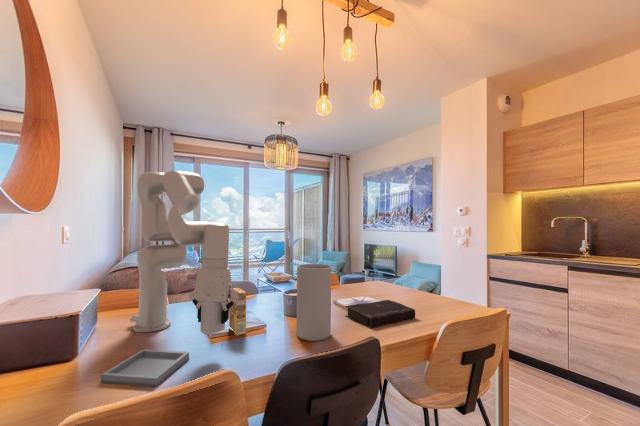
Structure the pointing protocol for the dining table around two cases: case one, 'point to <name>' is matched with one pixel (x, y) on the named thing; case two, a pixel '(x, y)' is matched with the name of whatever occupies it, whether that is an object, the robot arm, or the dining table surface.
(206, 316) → the skincare box
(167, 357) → the tray
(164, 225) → the robot arm
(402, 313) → the diary
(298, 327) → the cylinder vase
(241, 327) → the candy box
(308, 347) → the dining table surface
